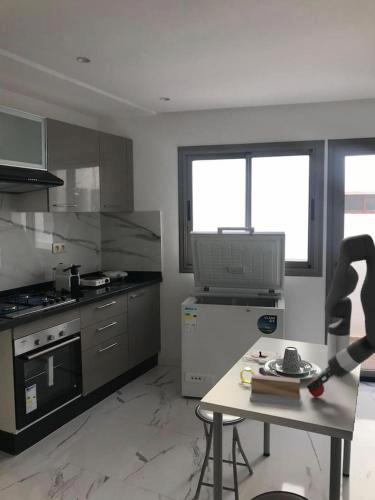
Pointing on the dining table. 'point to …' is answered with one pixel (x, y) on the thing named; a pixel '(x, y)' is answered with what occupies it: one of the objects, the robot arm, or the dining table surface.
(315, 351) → the dining table surface
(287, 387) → the ridge
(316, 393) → the onion
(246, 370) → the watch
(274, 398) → the ridge base
